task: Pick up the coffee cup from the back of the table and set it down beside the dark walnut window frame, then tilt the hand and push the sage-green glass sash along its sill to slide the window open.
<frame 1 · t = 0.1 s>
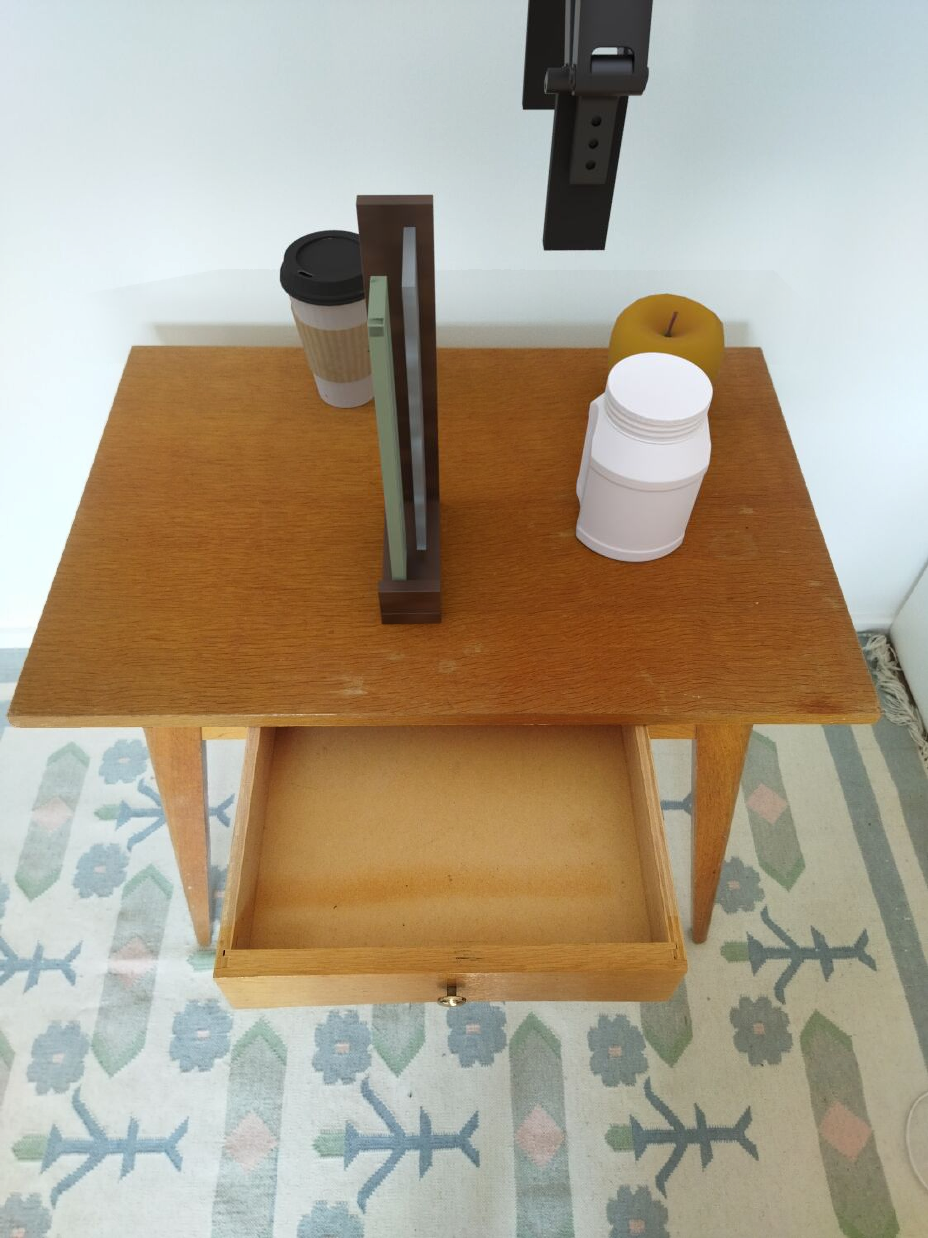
hand: (558, 170, 40), 37 cm above the table, tool pointing down, fingers open, 13 cm apart
window sash: (390, 459, 59), point 15 cm above the table, slide at 0.0 cm
jar: (626, 516, 77), on the table
window frame: (412, 559, 73), on the table
apple: (647, 421, 84), on the table
coffee cup: (348, 389, 87), on the table
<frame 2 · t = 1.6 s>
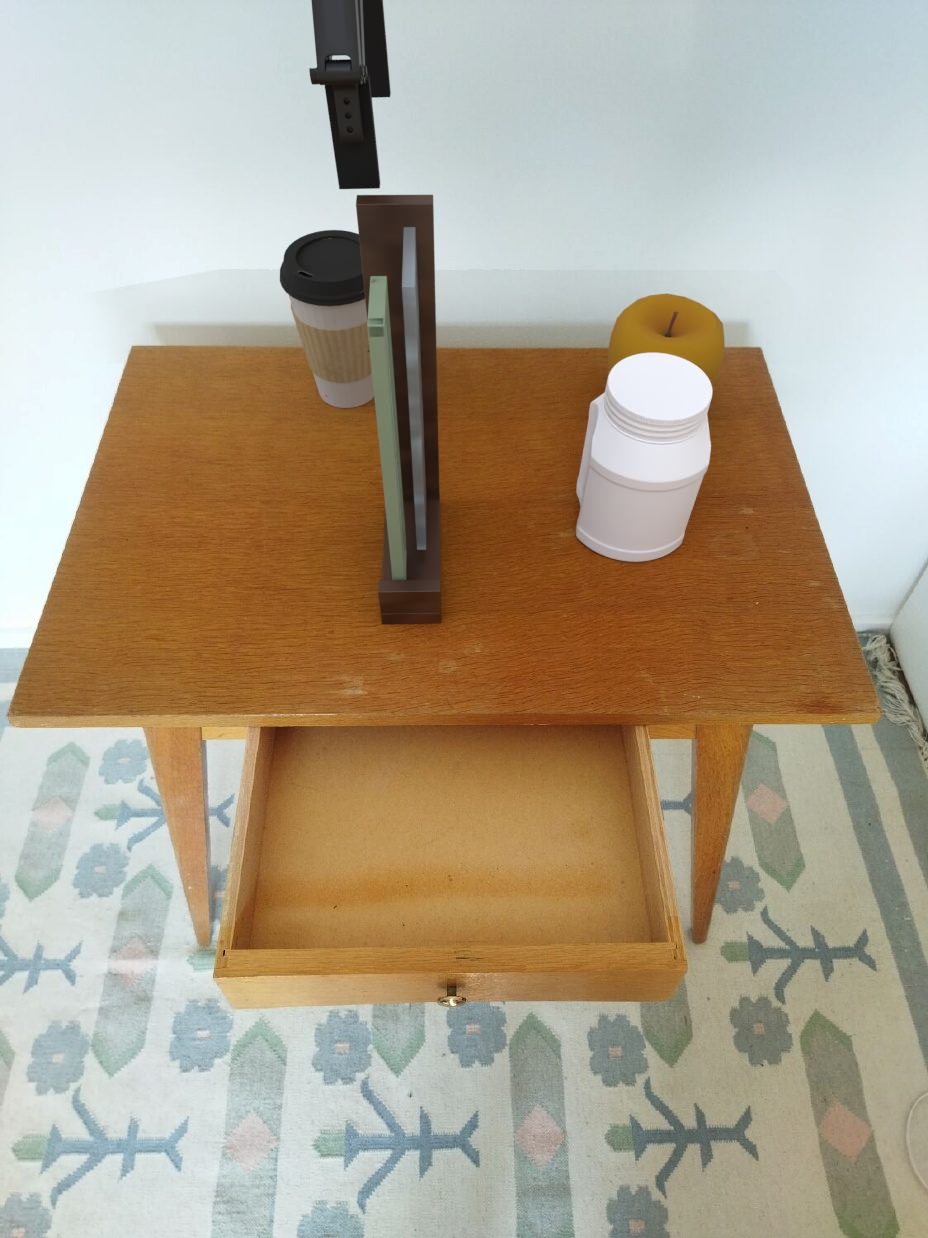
hand: (366, 138, 59), 28 cm above the table, tool pointing down, fingers open, 13 cm apart
nothing on the table moved.
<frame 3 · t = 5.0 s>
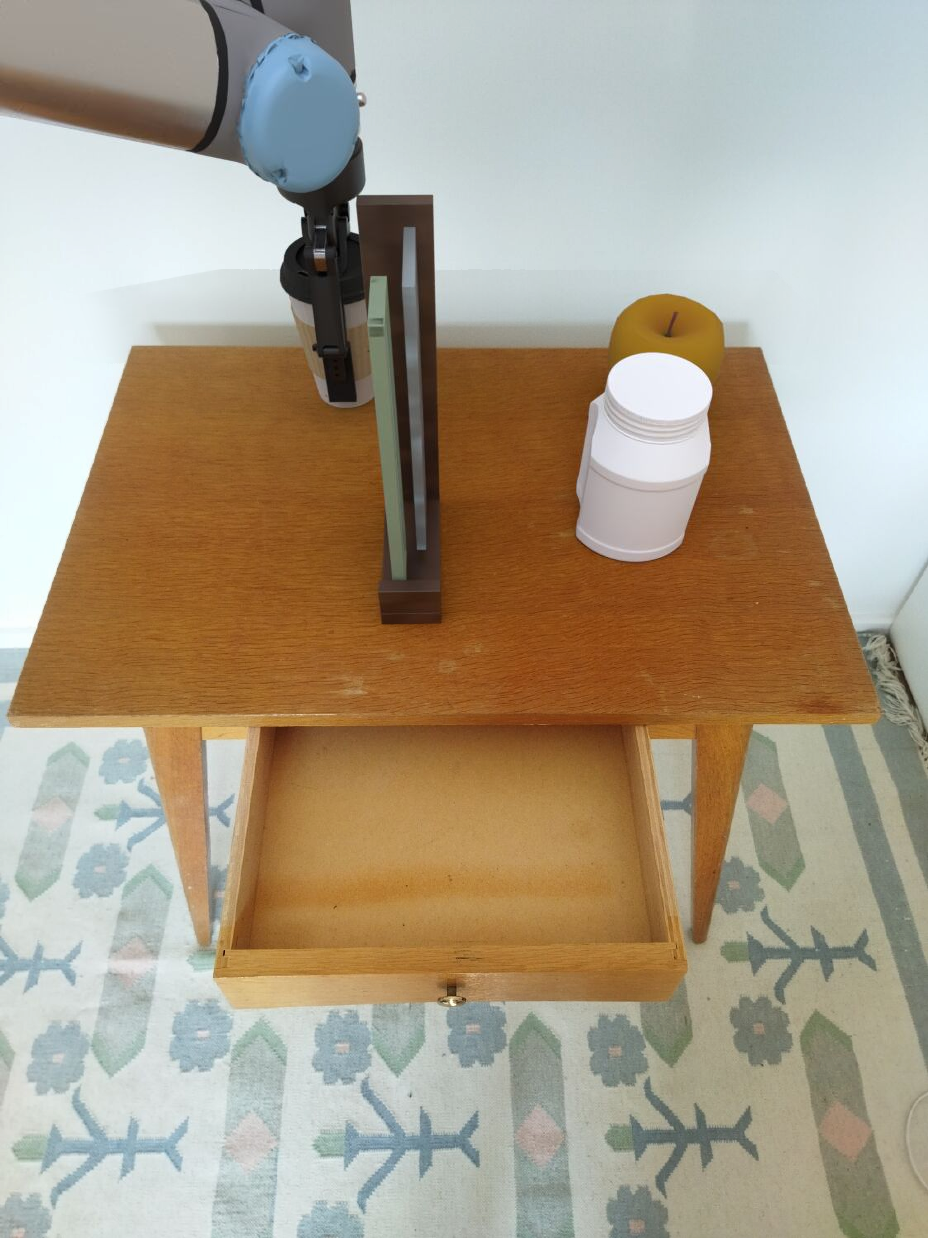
hand: (345, 369, 85), 2 cm above the table, tool pointing down, fingers closed on coffee cup, 9 cm apart
coffee cup: (348, 389, 87), on the table, touching gripper
everything else where it was.
when the fingers open (2 cm above the table, at t = 14.4 s): coffee cup stays where it is, on the table.
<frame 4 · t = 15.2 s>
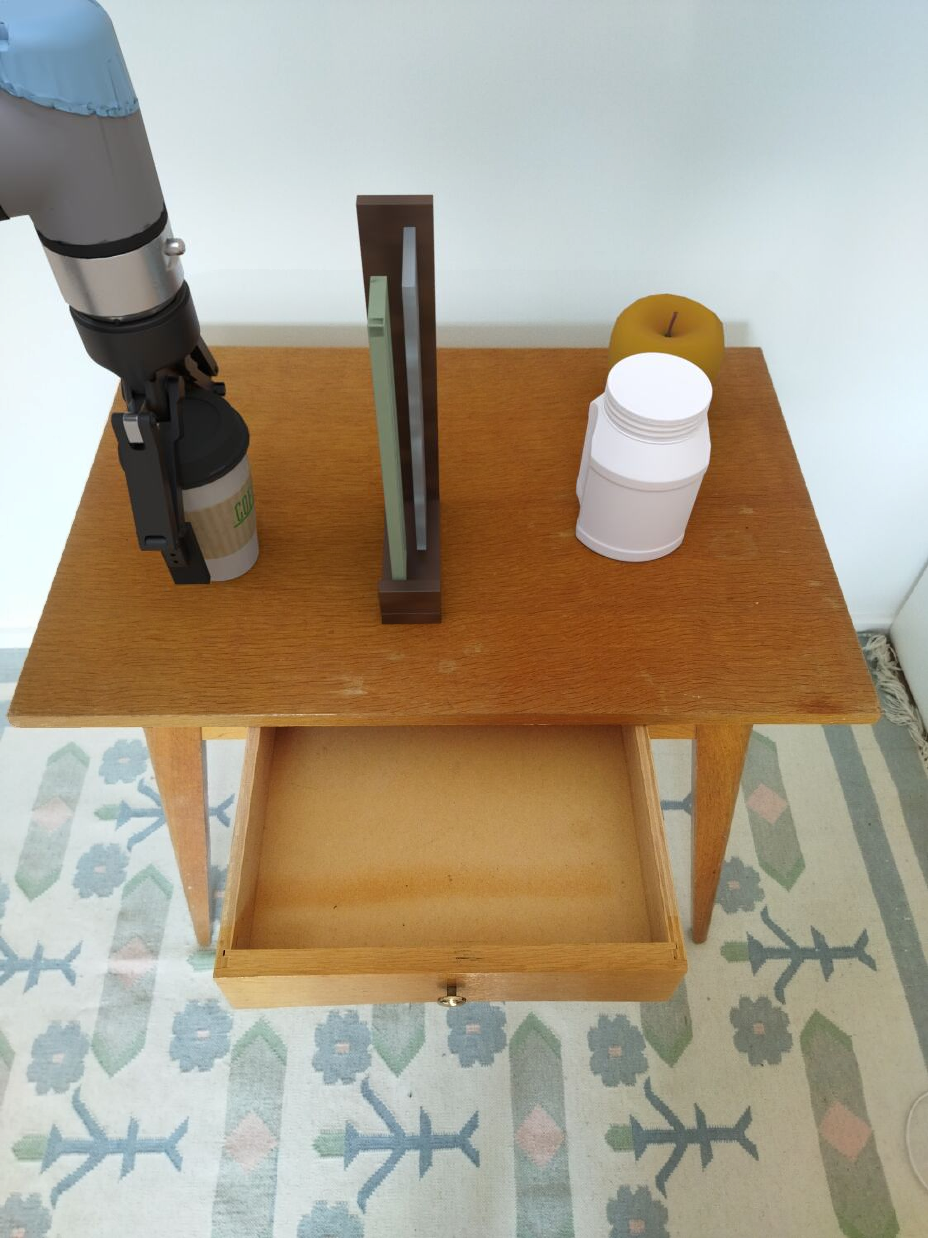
hand: (206, 517, 69), 5 cm above the table, tool pointing down, fingers open, 13 cm apart
coffee cup: (224, 555, 74), on the table
everything else where it was.
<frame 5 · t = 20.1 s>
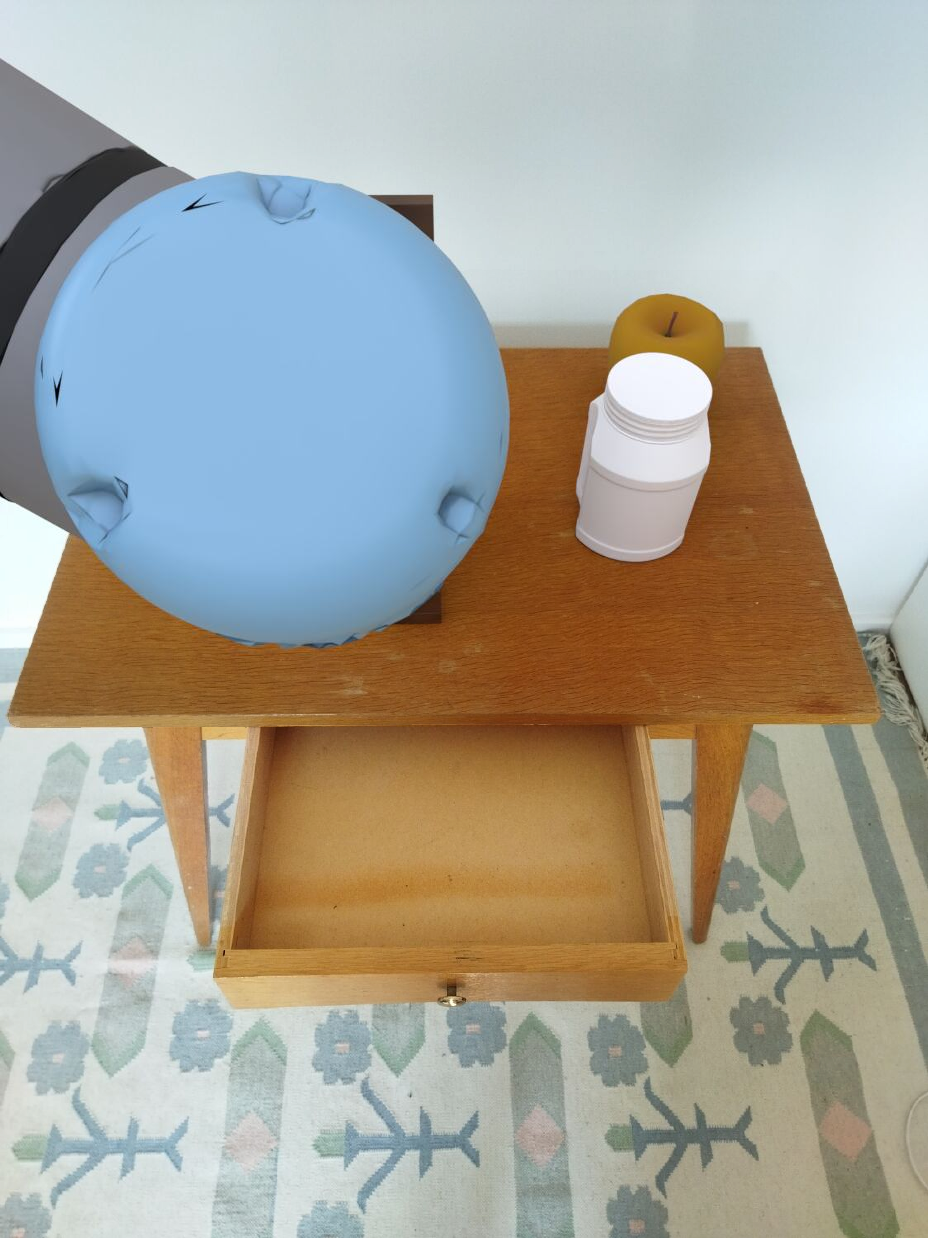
hand: (332, 546, 51), 18 cm above the table, tool tilted 40°, fingers closed
nothing on the table moved.
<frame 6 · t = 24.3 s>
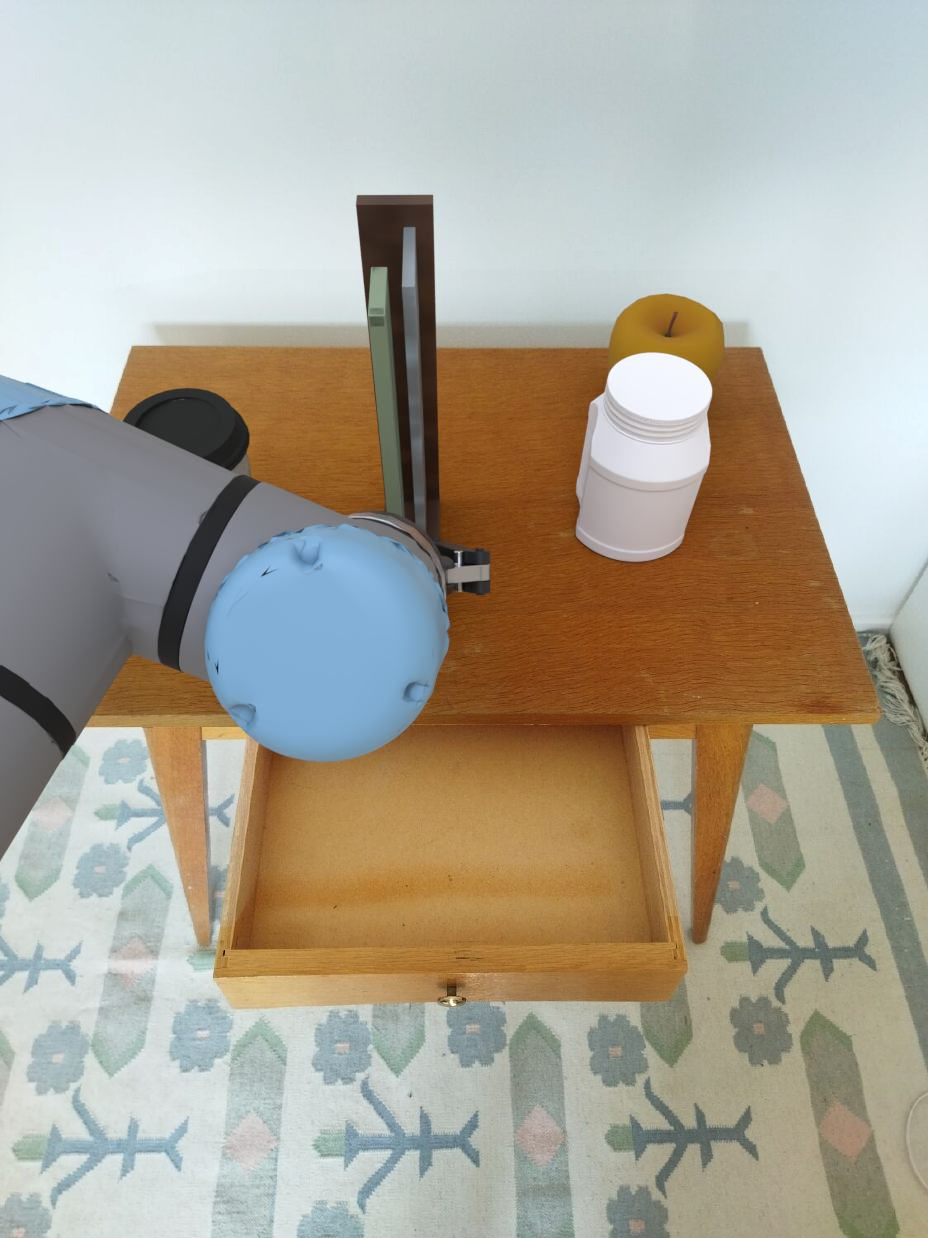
hand: (397, 549, 63), 8 cm above the table, tool tilted 45°, fingers closed
window sash: (391, 450, 60), point 15 cm above the table, slide at 1.0 cm, touching gripper
everything else where it was.
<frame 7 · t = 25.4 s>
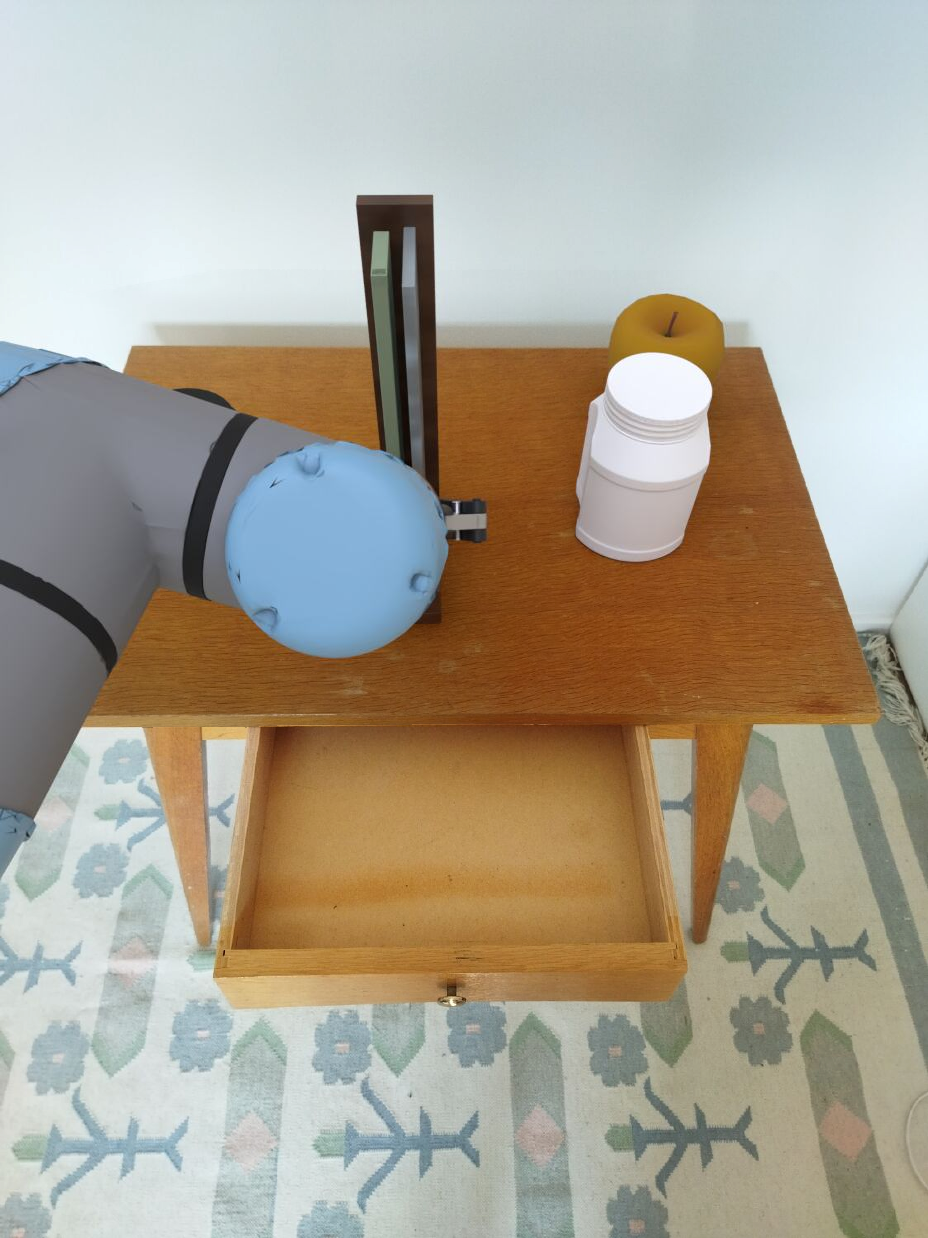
hand: (398, 512, 66), 8 cm above the table, tool tilted 45°, fingers closed
window sash: (392, 412, 62), point 15 cm above the table, slide at 5.1 cm, touching gripper
everything else where it was.
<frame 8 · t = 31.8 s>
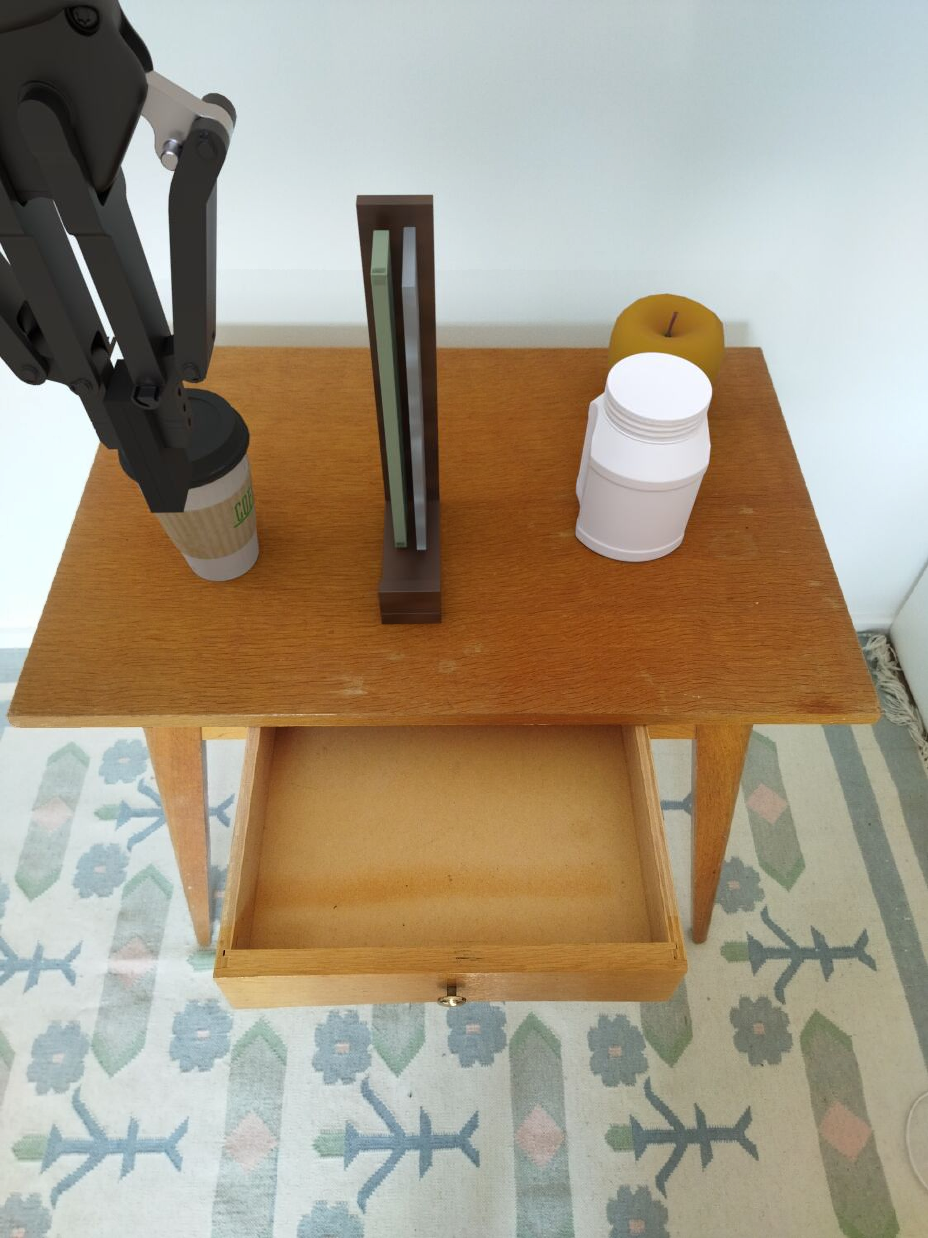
hand: (172, 491, 39), 28 cm above the table, tool pointing down, fingers closed
window sash: (392, 411, 62), point 15 cm above the table, slide at 5.2 cm
everything else where it was.
at the end: window sash slide at 5.2 cm; coffee cup 0.1 cm from the target spot on the table beside the window frame, on the table; coffee cup tilted 0° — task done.
